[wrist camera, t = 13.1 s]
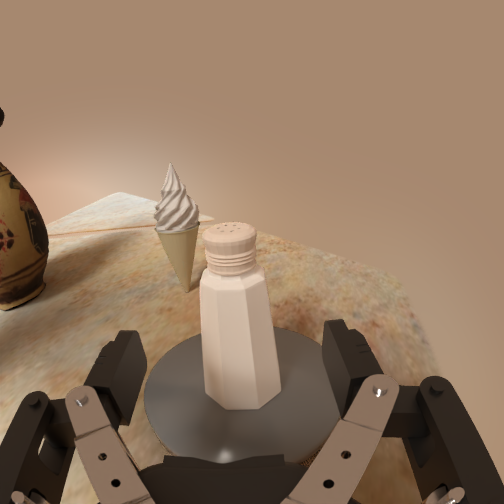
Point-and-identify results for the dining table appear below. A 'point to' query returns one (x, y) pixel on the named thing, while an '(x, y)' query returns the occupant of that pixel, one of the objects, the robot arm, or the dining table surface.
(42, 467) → the robot arm
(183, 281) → the ice cream cone
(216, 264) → the pepper shaker
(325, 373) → the grey round coaster
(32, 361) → the dining table surface
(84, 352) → the dining table surface
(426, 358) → the dining table surface
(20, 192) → the ceramic jug
